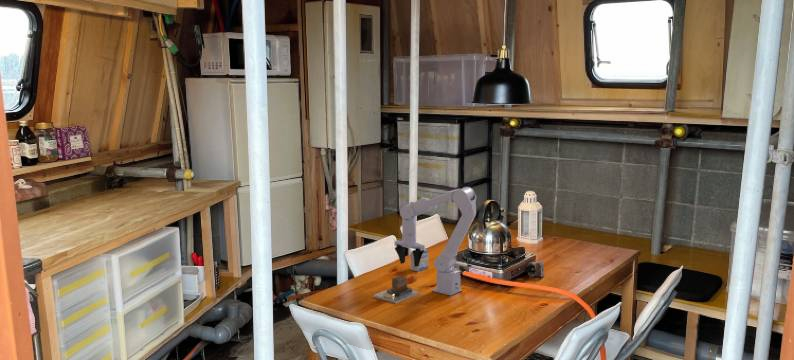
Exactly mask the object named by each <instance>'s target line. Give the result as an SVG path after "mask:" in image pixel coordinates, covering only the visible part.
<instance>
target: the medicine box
mask: <svg viewBox="0 0 794 360" xmlns="http://www.w3.org/2000/svg"><path fill="white" fill-rule="evenodd" d="M428 268H429V250H428V249H425V250H424V252H423V254H422V256H421V259H420V263H419V266H417V267H415V265H414V255H413V252H412V251H411V252H410V269H411V270H410V271H414V272H417V273H419V272H421V271H424V270H427V269H428Z"/></svg>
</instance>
